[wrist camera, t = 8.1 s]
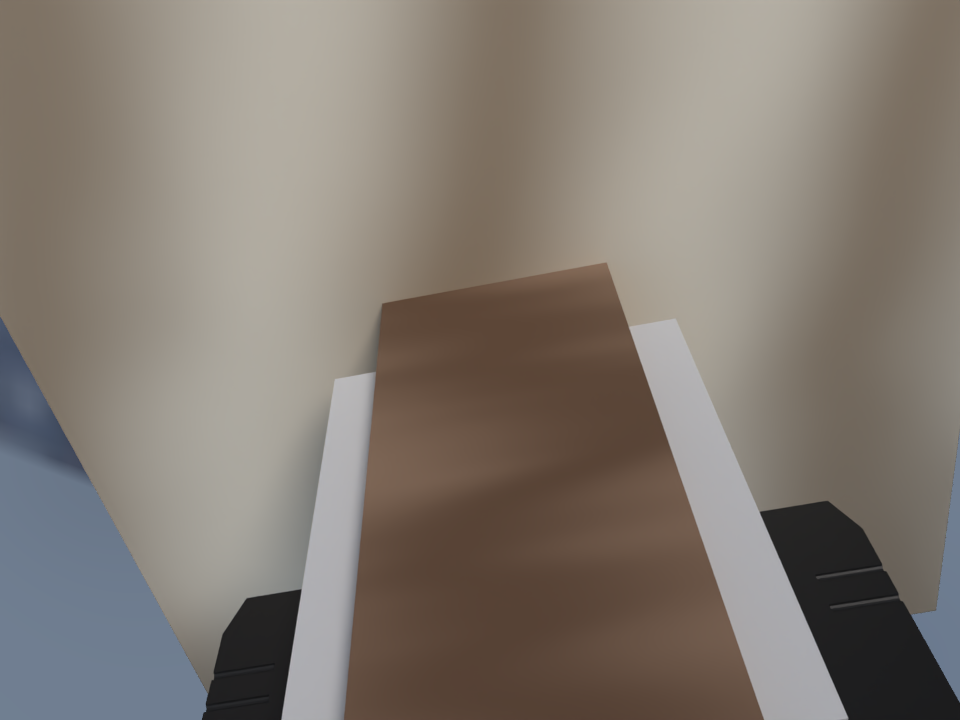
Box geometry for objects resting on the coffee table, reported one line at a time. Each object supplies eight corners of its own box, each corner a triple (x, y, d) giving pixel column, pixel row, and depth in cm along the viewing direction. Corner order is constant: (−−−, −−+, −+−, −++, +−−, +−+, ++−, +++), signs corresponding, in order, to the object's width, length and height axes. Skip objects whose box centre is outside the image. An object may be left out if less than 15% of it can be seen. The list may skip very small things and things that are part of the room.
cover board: (998, -268, 12) (2599, -342, 3) (910, 567, 20) (1274, 1184, 11) (-129, -27, 12) (-1330, 436, 4) (233, 674, 21) (92, 1318, 12)
